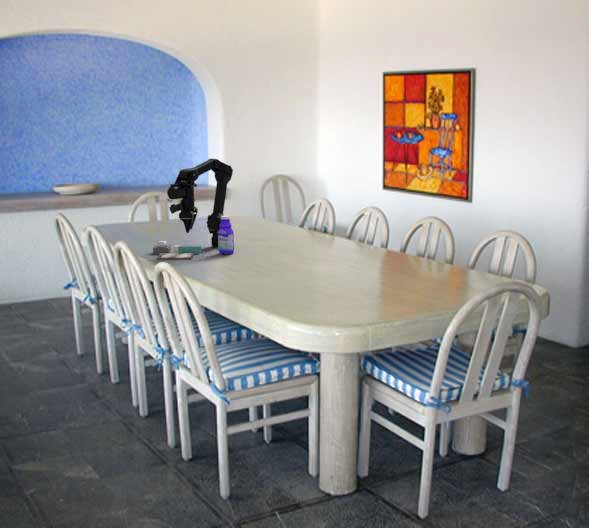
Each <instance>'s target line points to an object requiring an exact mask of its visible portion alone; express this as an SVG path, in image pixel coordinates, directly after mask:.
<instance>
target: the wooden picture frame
mask: <svg viewBox="0 0 589 528" xmlns="http://www.w3.org/2000/svg"><path fill="white" fill-rule="evenodd" d="M157 255H158V257H157V258H156V260H192V259H193V257H194V256H195V254H194V253H174V252H170V253H160V254H157Z"/></svg>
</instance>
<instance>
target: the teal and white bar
mask: <svg viewBox="0 0 589 528" xmlns="http://www.w3.org/2000/svg"><path fill="white" fill-rule="evenodd" d="M173 253H194V255H201V253H202V246H201V244H200V245H194V244H193V245H189V244H188V245H187V244H186V245H185V244H184V245H180V244H175V245H174V246H173Z"/></svg>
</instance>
